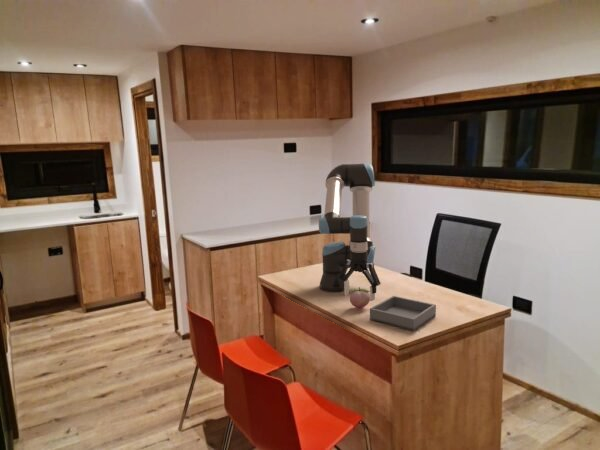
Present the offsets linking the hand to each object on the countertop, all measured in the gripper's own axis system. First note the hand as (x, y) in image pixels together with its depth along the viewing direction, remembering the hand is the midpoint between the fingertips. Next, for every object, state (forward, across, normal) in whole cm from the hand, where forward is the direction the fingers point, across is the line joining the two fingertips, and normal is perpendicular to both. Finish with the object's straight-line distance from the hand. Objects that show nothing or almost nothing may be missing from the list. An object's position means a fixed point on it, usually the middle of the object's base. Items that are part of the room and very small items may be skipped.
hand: (359, 297), depth 202 cm
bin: (+6, +21, +2) cm, 21 cm away
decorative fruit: (+6, 0, 0) cm, 6 cm away
